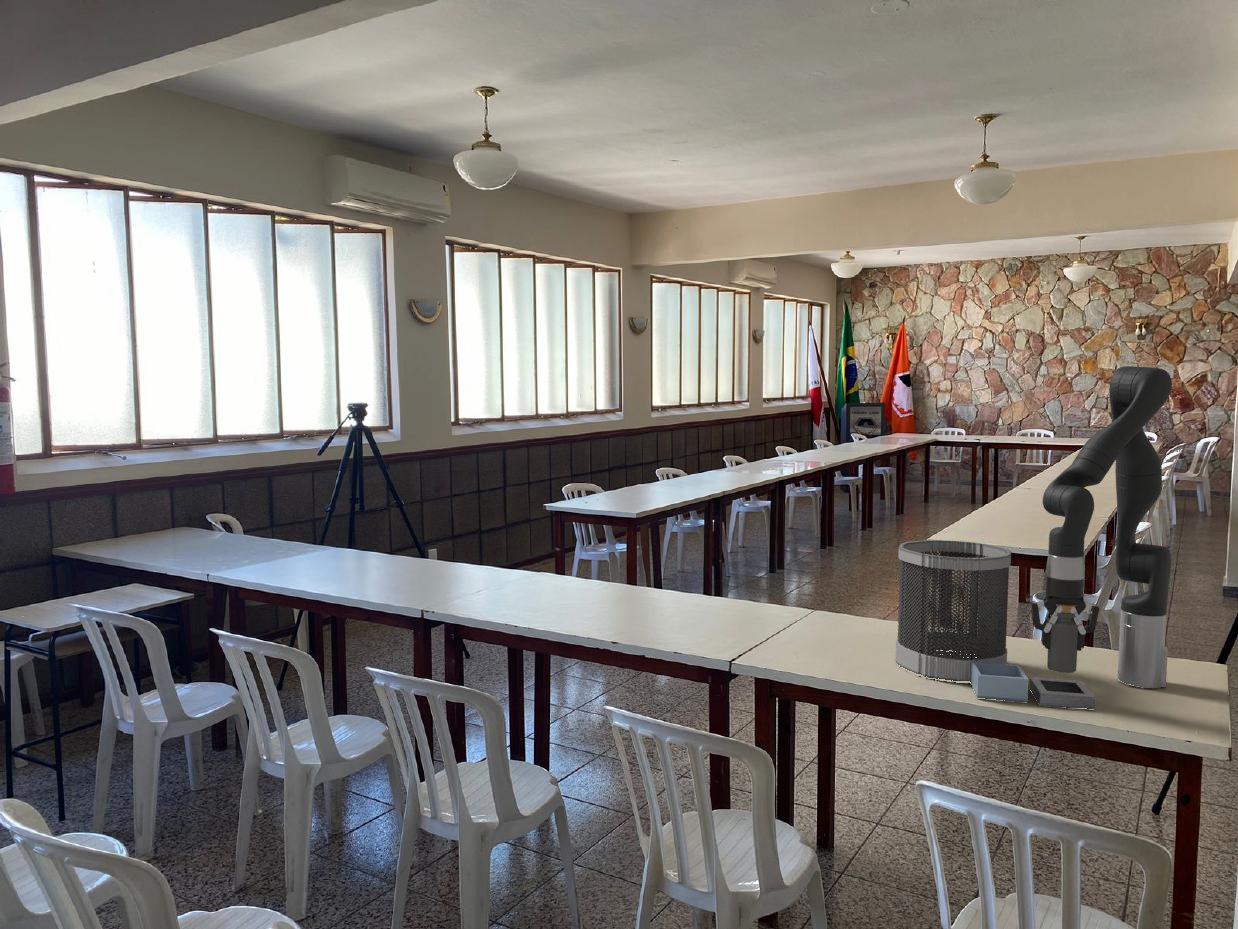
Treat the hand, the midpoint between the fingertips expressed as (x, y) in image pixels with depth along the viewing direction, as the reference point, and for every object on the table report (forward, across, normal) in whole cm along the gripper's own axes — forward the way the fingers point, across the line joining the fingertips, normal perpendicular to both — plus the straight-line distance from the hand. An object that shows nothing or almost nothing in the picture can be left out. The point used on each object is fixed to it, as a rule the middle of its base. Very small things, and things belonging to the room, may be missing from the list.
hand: (1062, 648), depth 197 cm
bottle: (+5, 0, 0) cm, 5 cm away
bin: (+11, -13, 0) cm, 17 cm away
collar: (+12, 0, -1) cm, 12 cm away
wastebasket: (+12, -22, +18) cm, 31 cm away
